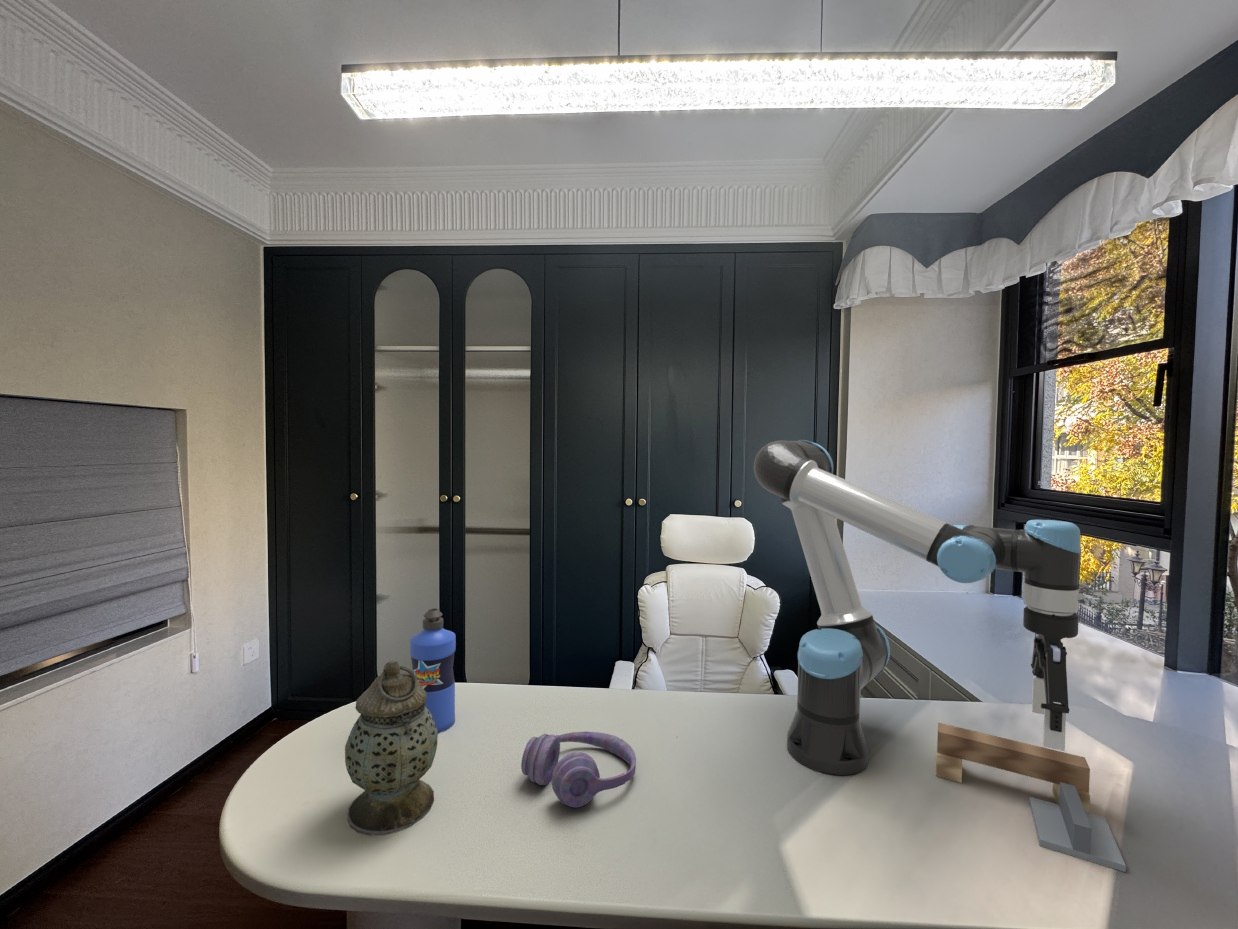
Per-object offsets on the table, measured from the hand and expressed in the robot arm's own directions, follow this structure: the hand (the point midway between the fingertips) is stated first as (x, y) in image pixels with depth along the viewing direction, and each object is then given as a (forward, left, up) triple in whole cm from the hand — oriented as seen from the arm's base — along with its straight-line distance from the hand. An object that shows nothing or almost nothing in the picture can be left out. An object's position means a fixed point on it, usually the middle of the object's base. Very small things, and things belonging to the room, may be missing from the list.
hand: (1047, 729), depth 96 cm
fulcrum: (+3, -9, -12) cm, 15 cm away
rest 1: (-14, 0, -12) cm, 19 cm away
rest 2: (+4, 0, -12) cm, 13 cm away
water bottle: (-110, -40, -12) cm, 118 cm away
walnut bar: (-5, 0, -8) cm, 10 cm away
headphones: (-72, -38, -13) cm, 83 cm away
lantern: (-94, -62, -13) cm, 114 cm away
